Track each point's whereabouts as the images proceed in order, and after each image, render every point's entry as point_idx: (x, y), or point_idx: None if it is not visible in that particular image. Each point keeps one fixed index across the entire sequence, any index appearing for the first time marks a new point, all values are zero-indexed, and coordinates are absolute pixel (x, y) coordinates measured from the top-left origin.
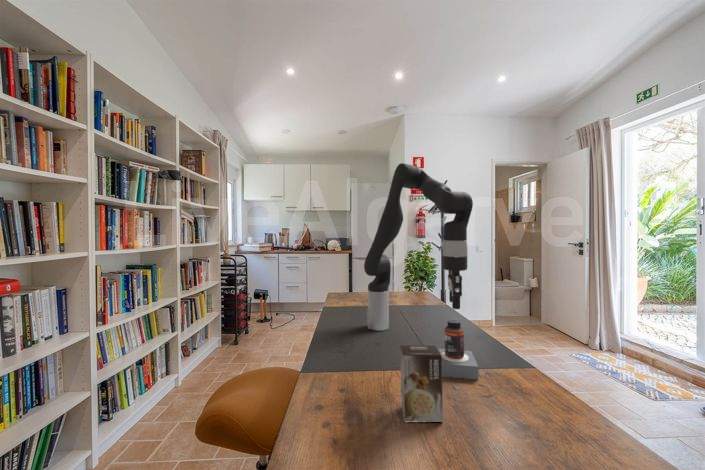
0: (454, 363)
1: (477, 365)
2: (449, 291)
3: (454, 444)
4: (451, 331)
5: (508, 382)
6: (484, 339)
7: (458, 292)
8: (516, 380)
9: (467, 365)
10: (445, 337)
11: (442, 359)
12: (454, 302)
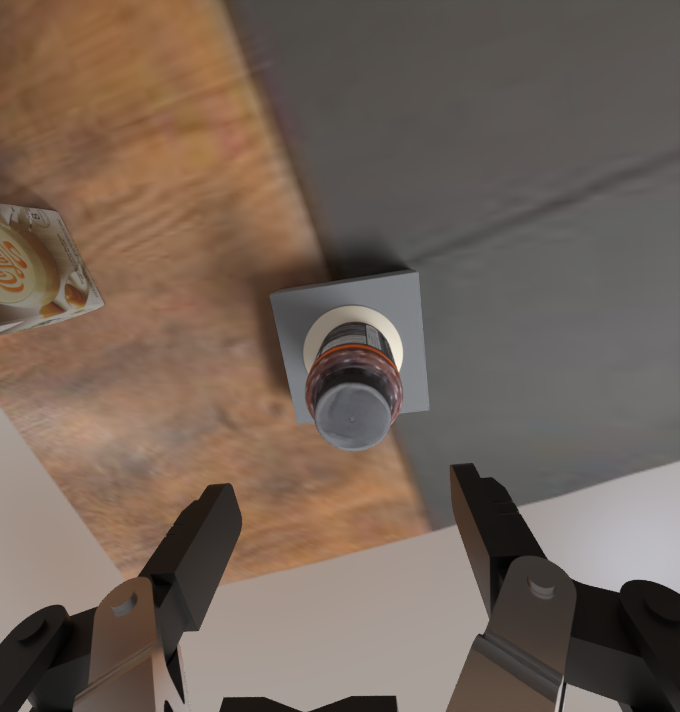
0: (292, 355)
1: (304, 422)
2: (514, 544)
3: (6, 348)
4: (305, 386)
5: (319, 471)
6: (668, 445)
7: (31, 703)
8: (338, 489)
9: (293, 394)
10: (332, 343)
11: (312, 312)
12: (163, 539)
